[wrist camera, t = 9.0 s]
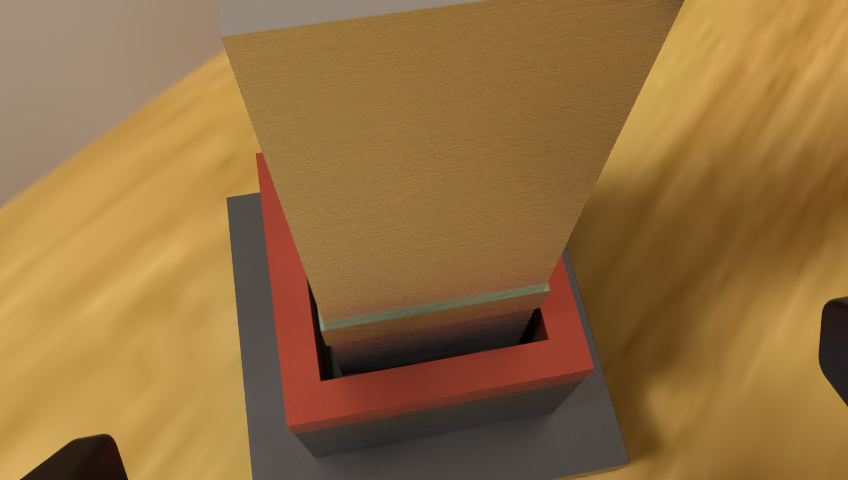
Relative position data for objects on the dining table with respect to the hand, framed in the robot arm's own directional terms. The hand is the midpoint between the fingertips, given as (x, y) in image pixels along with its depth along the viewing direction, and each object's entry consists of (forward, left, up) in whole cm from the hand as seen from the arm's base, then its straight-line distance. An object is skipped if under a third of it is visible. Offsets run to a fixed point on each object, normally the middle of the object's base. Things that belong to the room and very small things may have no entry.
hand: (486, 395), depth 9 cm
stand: (+3, -3, -13) cm, 14 cm away
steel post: (+3, -3, -8) cm, 9 cm away
